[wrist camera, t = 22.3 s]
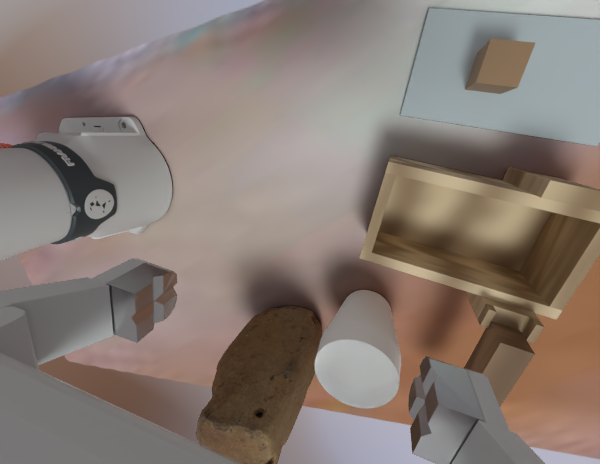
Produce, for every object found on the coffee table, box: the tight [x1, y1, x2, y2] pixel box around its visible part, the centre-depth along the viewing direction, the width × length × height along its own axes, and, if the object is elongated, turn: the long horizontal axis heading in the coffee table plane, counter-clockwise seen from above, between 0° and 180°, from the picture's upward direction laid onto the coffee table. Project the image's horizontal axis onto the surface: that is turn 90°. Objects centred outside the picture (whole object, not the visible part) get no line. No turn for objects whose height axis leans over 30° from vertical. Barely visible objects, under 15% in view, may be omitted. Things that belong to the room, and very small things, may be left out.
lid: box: [400, 8, 600, 146], centre depth 25 cm, size 18×10×6 cm, turn 80°
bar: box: [464, 321, 535, 406], centre depth 27 cm, size 2×15×3 cm, turn 168°
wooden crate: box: [360, 156, 600, 343], centre depth 28 cm, size 18×13×10 cm
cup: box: [315, 290, 401, 408], centre depth 35 cm, size 9×9×12 cm
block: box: [196, 306, 322, 464], centre depth 36 cm, size 11×8×20 cm
